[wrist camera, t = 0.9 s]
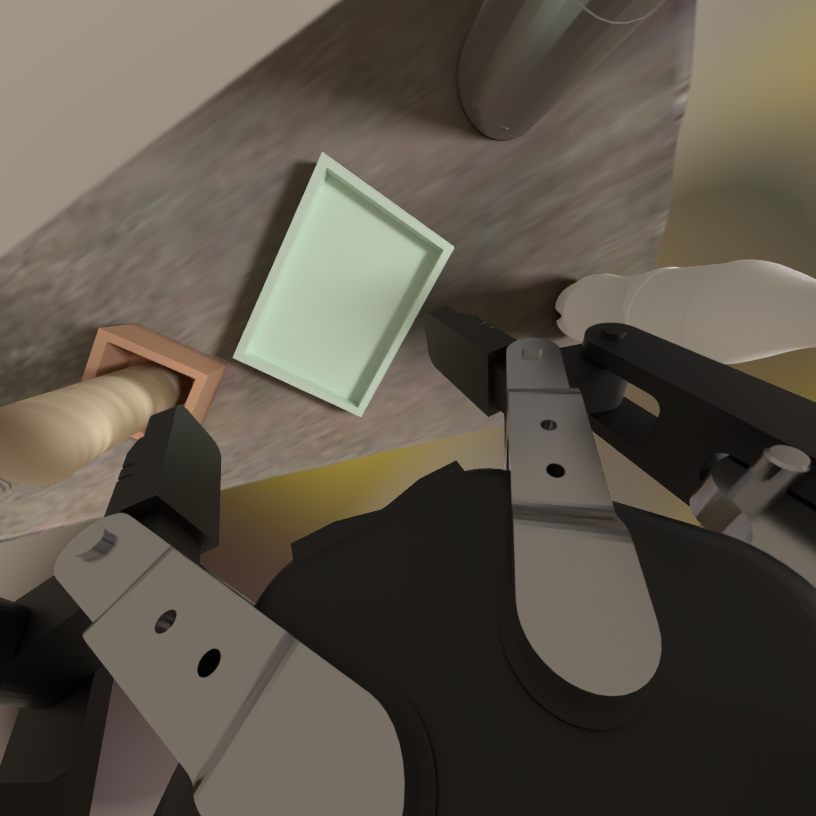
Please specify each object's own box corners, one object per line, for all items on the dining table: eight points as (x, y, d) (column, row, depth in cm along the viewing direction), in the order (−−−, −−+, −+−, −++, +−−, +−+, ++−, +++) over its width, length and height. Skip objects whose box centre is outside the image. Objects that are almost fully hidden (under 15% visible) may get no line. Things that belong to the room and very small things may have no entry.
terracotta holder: (136, 323, 31) (98, 327, 26) (227, 364, 33) (208, 375, 29) (109, 398, 32) (69, 415, 28) (198, 432, 35) (175, 452, 30)
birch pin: (146, 350, 31) (-22, 391, 17) (200, 373, 32) (87, 429, 18) (130, 393, 32) (-41, 467, 18) (183, 414, 33) (63, 497, 19)
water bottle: (541, 336, 39) (835, 393, 15) (554, 273, 36) (921, 226, 13) (592, 340, 40) (932, 396, 17) (607, 279, 38) (1026, 246, 14)
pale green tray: (324, 163, 29) (322, 151, 27) (447, 250, 33) (454, 247, 31) (240, 353, 33) (232, 357, 31) (360, 409, 37) (361, 417, 35)
